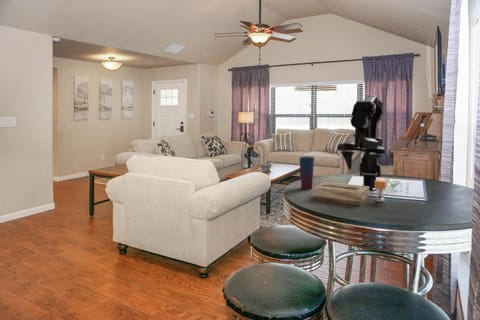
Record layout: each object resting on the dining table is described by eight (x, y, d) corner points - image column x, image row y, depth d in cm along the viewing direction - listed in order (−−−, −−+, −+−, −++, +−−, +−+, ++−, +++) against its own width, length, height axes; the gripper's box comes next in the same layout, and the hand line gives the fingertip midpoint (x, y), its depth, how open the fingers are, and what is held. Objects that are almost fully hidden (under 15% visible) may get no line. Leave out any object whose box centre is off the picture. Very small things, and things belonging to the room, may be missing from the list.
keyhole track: (323, 192, 163) (323, 181, 163) (369, 198, 153) (369, 186, 152) (312, 199, 153) (312, 187, 152) (361, 205, 142) (361, 193, 141)
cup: (313, 190, 168) (314, 158, 166) (299, 189, 170) (299, 158, 168) (313, 187, 175) (314, 156, 173) (299, 186, 176) (299, 156, 174)
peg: (376, 199, 151) (376, 179, 149) (386, 200, 148) (387, 180, 147) (373, 201, 147) (374, 181, 146) (384, 202, 145) (385, 182, 144)
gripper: (353, 127, 136) (350, 168, 135) (395, 132, 140) (392, 172, 140) (337, 130, 146) (335, 168, 146) (377, 134, 151) (375, 172, 151)
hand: (359, 170), depth 145 cm, fingers open, 9 cm apart
